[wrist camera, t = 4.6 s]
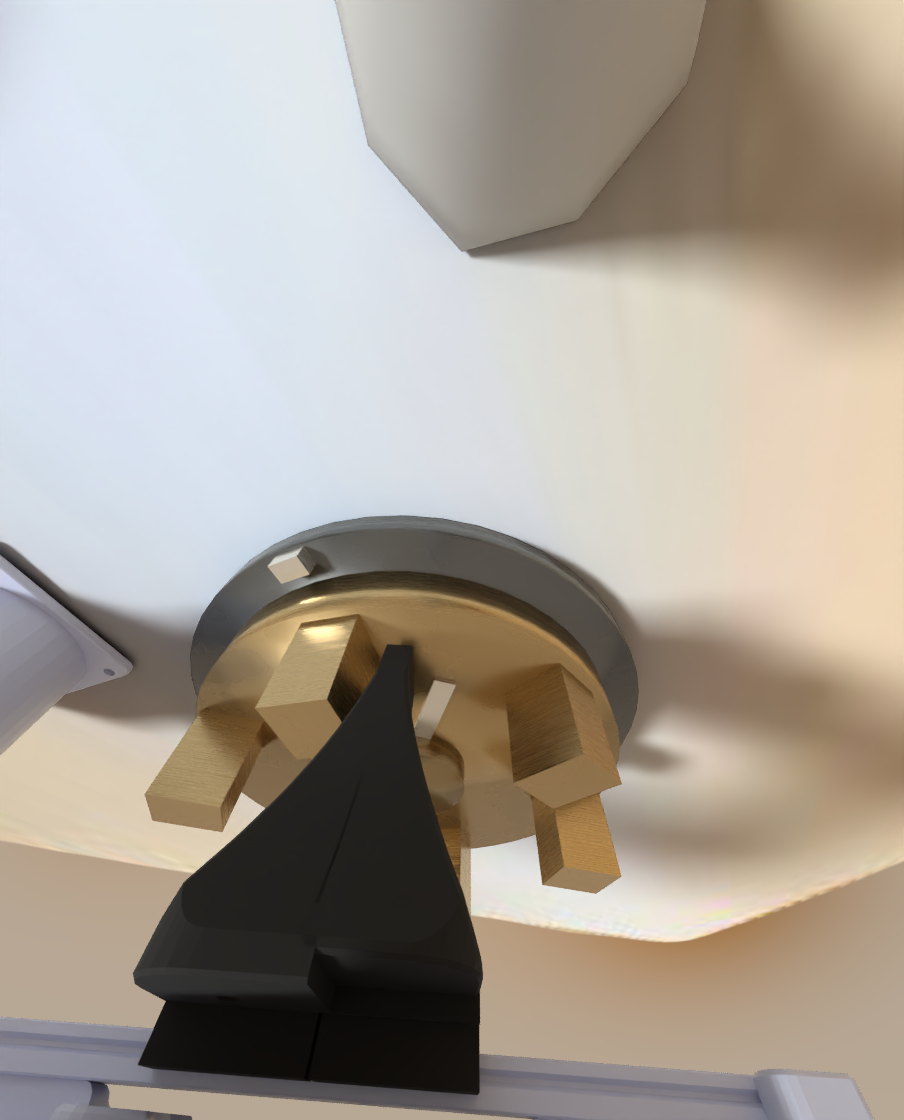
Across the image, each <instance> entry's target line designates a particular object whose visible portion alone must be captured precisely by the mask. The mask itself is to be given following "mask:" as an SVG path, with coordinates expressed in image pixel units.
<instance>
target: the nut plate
mask: <svg viewBox="0 0 904 1120" xmlns="http://www.w3.org/2000/svg"><path fill="white" fill-rule="evenodd" d="M373 571H411V572H421V573H431V574H440V575H445V576H450V577H455V578H460V579H464V580H469V581H473V582H476V583H479V584H482V585H485V586H488V587H491V588H494V589H498V590H501V591H503V592H505V593H507V594H510V595H512V596H514V597H516V598H518V599H520V600H523V601H525V602H527V603H529V604H531V605H532V606H534V607H535V608H537V609H539V610H540V611H542V612H543V613H545V614H547V615H548V616H550V617H551V618H553V619H554V620H555V621H556V622H558V623H559V624H560V625H561V626H562V627H564V628H565V629H566V630H567V631H568V632H570V633H571V634H572V635H573V637H574V638H575V639H576V640H577V641H578V642H579V643H580V645H581V646H582V647H583V648H584V649H585V650H586V652H587V653H588V655H589V657H590V658H591V660H592V662H593V663H594V665H595V667H596V668H597V671H598V674H599V676H600V679H601V682H602V685H603V687H604V690H605V693H606V696H607V699H608V701H609V704H610V707H611V710H612V712H613V715H614V718H615V721H616V724H617V726H618V733H619V741H620V745H621V744H622V742H623V741H624V739H625V737H626V735H627V733H628V731H629V730H630V728H631V725H632V722H633V719H634V716H635V713H636V709H637V700H638V682H637V672H636V668H635V665H634V662H633V659H632V656H631V653H630V650H629V648H628V646H627V643H626V641H625V639H624V637H623V635H622V633H621V631H620V629H619V627H618V625H617V624H616V622H615V620H614V618H613V616H612V615H611V613H610V611H609V609H608V608H607V607H606V605H605V604H604V603H603V602H602V601H601V599H600V598H599V597H598V596H597V594H596V593H595V592H594V591H593V590H592V588H590V587H589V586H588V585H587V584H586V583H585V582H584V581H583V580H581V579H580V578H579V577H578V576H577V575H576V574H575V573H573V572H572V571H571V570H570V569H569V568H567V567H566V566H564V565H562V564H561V563H559V562H558V561H556V560H555V559H553V558H552V557H550V556H549V555H547V554H546V553H544V552H542V551H540V550H538V549H536V548H534V547H532V546H530V545H527V544H525V543H523V542H521V541H519V540H517V539H515V538H513V537H510V536H507V535H504V534H501V533H498V532H495V531H492V530H489V529H486V528H483V527H480V526H476V525H471V524H466V523H461V522H456V521H451V520H446V519H440V518H428V517H415V516H380V517H364V518H358V519H352V520H345V521H339V522H333V523H330V524H326V525H323V526H319V527H316V528H313V529H309V530H306V531H303V532H300V533H298V534H296V535H293V536H291V537H289V538H287V539H285V540H283V541H280V542H278V543H276V544H274V545H272V546H271V547H269V548H268V549H266V550H265V551H263V552H262V553H260V554H259V555H257V556H256V557H254V558H253V559H251V560H250V561H249V562H248V563H247V564H246V565H245V566H244V567H242V568H241V569H240V570H239V571H238V572H237V573H236V574H235V575H234V576H233V577H232V578H231V579H230V580H229V581H228V583H227V584H226V585H225V586H224V587H223V588H222V589H221V590H220V591H219V593H218V594H217V595H216V596H215V597H214V599H213V600H212V602H211V603H210V604H209V606H208V607H207V609H206V610H205V612H204V613H203V615H202V616H201V619H200V621H199V624H198V626H197V628H196V631H195V633H194V636H193V642H192V648H191V654H190V659H191V676H192V680H193V684H194V687H195V691H196V695H197V697H198V695H199V691H200V688H201V686H202V684H203V682H204V680H205V678H206V677H207V675H208V673H209V671H210V670H211V668H212V667H213V666H214V664H215V663H216V662H217V660H218V659H219V657H220V656H221V655H222V653H223V652H224V651H225V649H226V648H227V646H228V645H229V644H230V642H231V641H232V640H233V638H234V637H235V635H236V634H237V633H238V632H239V630H240V629H241V628H242V627H243V626H244V625H245V623H246V622H247V621H248V620H249V619H250V618H251V617H252V616H253V615H255V614H256V613H257V612H258V611H260V610H261V609H262V608H263V607H265V606H266V605H267V604H269V603H270V602H272V601H274V600H276V599H277V598H279V597H281V596H283V595H285V594H286V593H288V592H290V591H293V590H295V589H298V588H301V587H303V586H306V585H308V584H311V583H314V582H317V581H321V580H325V579H329V578H334V577H338V576H342V575H349V574H357V573H365V572H373Z"/></svg>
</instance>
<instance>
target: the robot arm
mask: <svg viewBox="0 0 904 1120" xmlns="http://www.w3.org/2000/svg"><path fill="white" fill-rule="evenodd" d="M132 669H133V666H132V663H131V662H130V661H129V660H127V659H126V658H125V657H124V656H122V655H121V654H120V653H119V652H118V651H116V650H115V649H114V648H113V647H112V646H110V645H109V644H108V643H107V642H105V641H104V640H103V639H102V638H101V637H99V636H98V635H97V634H96V633H95V632H93V631H92V630H91V629H90V628H88V627H87V626H86V625H85V624H84V623H82V622H81V621H80V620H79V619H78V618H76V617H75V616H74V615H73V614H71V613H70V612H69V611H68V610H67V609H65V608H64V607H63V606H62V605H61V604H59V603H58V602H57V601H56V600H54V599H53V598H52V597H51V596H50V595H48V594H47V593H46V592H45V591H44V590H42V589H41V588H40V587H39V586H37V585H36V584H35V583H34V582H33V581H31V580H30V579H29V578H28V577H27V576H25V575H24V574H23V573H22V572H20V571H19V570H18V569H17V568H16V567H14V566H13V565H12V564H11V563H10V562H8V561H7V560H6V559H5V558H3V557H2V556H1V555H0V755H1V754H2V753H4V752H5V751H6V750H7V749H8V748H9V747H10V746H11V745H12V744H13V743H14V742H15V741H16V740H17V739H18V738H19V737H21V736H22V735H23V734H24V733H25V732H26V731H27V730H28V729H29V728H30V727H31V726H32V725H33V724H34V723H35V722H36V721H38V720H39V719H40V718H41V717H42V716H43V715H44V714H45V713H46V712H47V711H48V710H49V709H50V708H51V707H52V706H53V705H54V704H56V703H57V702H58V701H59V700H60V699H61V698H62V697H63V696H64V695H65V694H68V693H71V692H75V691H78V690H81V689H84V688H88V687H91V686H94V685H97V684H100V683H104V682H107V681H110V680H113V679H116V678H120V677H123V676H126V675H128V674H129V673H130V672H131V670H132ZM414 691H415V687H414V669H413V651H412V645H393V644H387V646H386V648H385V651H384V653H383V656H382V659H381V661H380V664H379V667H378V669H377V671H376V672H375V674H374V676H373V677H372V679H371V681H370V682H369V684H368V685H367V687H366V688H365V690H364V691H363V693H362V695H361V696H360V698H359V699H358V701H357V702H356V704H355V705H354V706H353V708H352V709H351V711H350V712H349V713H348V715H347V716H346V717H345V719H344V720H343V721H342V723H341V724H340V726H339V727H338V728H337V730H336V731H335V732H334V733H333V735H332V736H331V737H330V739H329V740H328V741H327V742H326V744H325V745H324V746H323V747H322V748H321V750H320V751H319V752H318V753H317V754H316V755H315V757H314V758H313V759H312V760H311V761H310V762H309V764H308V765H307V766H306V767H305V768H304V769H303V770H302V771H301V772H300V773H299V775H298V776H297V777H296V778H295V779H294V780H293V781H292V782H291V783H290V784H289V785H288V786H287V788H286V789H285V790H284V791H283V792H282V793H281V794H280V795H279V796H278V797H277V798H276V799H275V800H274V801H273V802H272V803H271V804H270V805H269V806H268V807H267V808H266V809H265V810H263V811H262V812H261V813H260V814H259V815H258V816H257V817H256V818H255V819H254V820H253V821H252V822H251V823H250V824H249V825H248V826H247V827H246V828H245V829H244V830H243V831H242V832H241V833H239V834H238V835H237V836H236V837H235V838H234V839H233V840H232V841H231V842H229V843H228V844H227V845H226V846H225V847H224V848H223V849H221V850H220V851H219V852H218V853H217V854H216V855H215V856H213V857H212V858H211V859H210V860H209V861H208V862H206V863H205V864H204V865H203V866H202V867H201V868H200V869H198V870H197V871H196V872H195V873H194V874H193V875H191V876H190V877H189V878H188V879H187V880H186V881H185V882H184V883H183V885H182V886H181V888H180V889H179V891H178V892H177V894H176V896H175V897H174V899H173V901H172V902H171V904H170V905H169V907H168V908H167V910H166V912H165V913H164V915H163V917H162V919H161V920H160V922H159V924H158V926H157V928H156V930H155V932H154V934H153V936H152V938H151V940H150V942H149V943H148V946H147V947H146V949H145V951H144V953H143V955H142V957H141V959H140V961H139V963H138V965H137V967H136V969H135V970H134V972H133V975H134V981H135V984H136V985H138V986H139V987H140V988H142V989H144V990H146V991H148V992H150V993H152V994H154V995H156V996H157V997H159V998H161V999H163V1000H165V1001H166V1002H165V1004H164V1006H163V1009H162V1011H161V1013H160V1015H159V1018H158V1020H157V1022H156V1025H155V1027H154V1029H152V1028H140V1027H127V1026H114V1025H101V1024H88V1023H75V1022H61V1021H49V1020H37V1019H24V1018H11V1017H0V1120H192V1117H191V1116H185V1115H176V1114H165V1113H157V1112H150V1111H139V1110H129V1109H118V1108H110V1106H109V1102H108V1100H109V1089H108V1086H107V1085H105V1084H113V1085H126V1086H138V1087H150V1088H162V1089H174V1090H186V1091H198V1092H211V1093H223V1094H236V1095H247V1096H259V1097H271V1098H285V1099H295V1100H296V1099H297V1100H307V1101H320V1102H332V1103H344V1104H356V1105H368V1106H380V1107H393V1108H405V1109H417V1110H430V1111H441V1112H453V1113H465V1114H477V1115H490V1116H502V1117H514V1118H527V1119H533V1120H875V1119H874V1117H873V1116H872V1113H871V1112H870V1109H869V1107H868V1106H867V1103H866V1102H865V1099H864V1097H863V1095H862V1093H861V1092H860V1089H859V1087H858V1085H857V1083H856V1081H855V1080H854V1079H853V1078H851V1077H850V1076H849V1075H848V1074H844V1073H831V1072H818V1071H805V1070H792V1069H767V1070H761V1071H757V1072H755V1074H754V1075H744V1074H731V1073H718V1072H706V1071H693V1070H680V1069H667V1068H654V1067H642V1066H629V1065H616V1064H603V1063H589V1062H576V1061H564V1060H551V1059H539V1058H526V1057H525V1058H524V1057H513V1056H500V1055H487V1054H479V1024H480V988H481V984H482V980H483V971H482V961H481V956H480V952H479V948H478V944H477V940H476V937H475V933H474V929H473V926H472V922H471V918H470V914H469V911H468V907H467V904H466V900H465V896H464V893H463V890H462V888H461V885H460V882H459V880H458V877H457V875H456V872H455V869H454V866H453V864H452V861H451V858H450V855H449V853H448V850H447V847H446V844H445V841H444V838H443V835H442V832H441V829H440V826H439V823H438V819H437V816H436V813H435V810H434V806H433V803H432V800H431V797H430V793H429V790H428V786H427V782H426V779H425V775H424V771H423V767H422V763H421V759H420V755H419V750H418V746H417V741H416V736H415V730H414V725H413V719H412V708H413V699H414Z"/></svg>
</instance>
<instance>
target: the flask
mask: <svg viewBox="0 0 904 1120" xmlns="http://www.w3.org/2000/svg"><path fill="white" fill-rule="evenodd" d="M706 1H707V0H335V3H336V7H337V11H338V16H339V20H340V24H341V29H342V33H343V38H344V42H345V46H346V51H347V55H348V59H349V64H350V68H351V73H352V77H353V81H354V86H355V90H356V94H357V99H358V103H359V108H360V112H361V116H362V121H363V125H364V129H365V134H366V138H367V143H368V146H369V147H370V148H371V149H372V150H373V152H374V153H375V154H376V155H377V156H378V157H379V158H380V160H381V161H382V162H383V163H384V164H385V165H386V166H387V168H388V169H389V170H390V171H391V172H392V173H393V174H394V175H395V177H396V178H397V179H398V180H399V181H400V182H401V183H402V185H403V186H404V187H405V188H406V189H407V190H408V191H409V193H410V194H411V195H412V196H413V197H414V198H415V199H416V200H417V202H418V203H419V204H420V205H421V206H422V207H423V208H424V210H425V211H426V212H427V213H428V214H429V215H430V216H431V218H432V219H433V220H434V221H435V222H436V223H437V224H438V225H439V227H440V228H441V229H442V230H443V231H444V232H445V233H446V235H447V236H448V237H449V238H450V239H451V240H452V241H453V243H454V244H455V245H456V246H457V247H458V248H459V249H460V250H461V252H462V251H466V250H470V249H473V248H477V247H481V246H484V245H488V244H492V243H495V242H499V241H503V240H506V239H510V238H514V237H517V236H521V235H525V234H529V233H532V232H536V231H540V230H543V229H547V228H551V227H554V226H558V225H562V224H565V223H569V222H573V221H577V220H578V219H579V218H580V217H581V215H582V214H583V213H584V212H585V210H586V209H587V208H588V207H589V205H590V204H591V203H592V202H593V200H594V199H595V198H596V197H597V195H598V194H599V193H600V192H601V190H602V189H603V188H604V187H605V185H606V184H607V183H608V182H609V180H610V179H611V178H612V177H613V175H614V174H615V173H616V172H617V170H618V169H619V168H620V167H621V165H622V164H623V163H624V162H625V160H626V159H627V158H628V157H629V156H630V154H631V153H632V152H633V151H634V149H635V148H636V147H637V146H638V144H639V143H640V142H641V141H642V139H643V138H644V137H645V136H646V134H647V133H648V132H649V131H650V129H651V128H652V127H653V126H654V124H655V123H656V122H657V121H658V119H659V118H660V117H661V116H662V114H663V113H664V112H665V111H666V109H667V108H668V107H669V106H670V104H671V103H672V102H673V101H674V99H675V98H676V97H677V96H678V94H679V93H680V92H681V91H682V89H683V88H684V87H685V86H686V84H687V82H688V78H689V74H690V71H691V67H692V63H693V59H694V55H695V52H696V47H697V43H698V38H699V33H700V29H701V24H702V20H703V15H704V10H705V6H706Z"/></svg>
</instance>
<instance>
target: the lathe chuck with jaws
mask: <svg viewBox="0 0 904 1120" xmlns="http://www.w3.org/2000/svg"><path fill="white" fill-rule="evenodd" d="M387 644H393V645H412V651H413V669H414V687H415V691H414V699H413V708H412V719H413V725H414V730H415V736H416V741H417V746H418V750H419V755H420V759H421V763H422V767H423V771H424V775H425V779H426V782H427V786H428V790H429V793H430V797H431V800H432V803H433V806H434V810H435V813H436V816H437V819H438V823H439V826H440V829H441V832H442V835H443V838H444V841H445V844H446V847H447V850H448V853H449V855H450V858H451V861H452V864H453V866H454V869H455V872H456V875H457V877H458V880H459V882H460V885H461V888H462V890H463V893H464V896H465V900H466V904H467V907H468V911H469V914H470V918H471V848H479V847H486V846H493V845H498V844H503V843H507V842H512V841H516V840H519V839H522V838H526V837H529V836H532V835H535V834H536V838H537V846H538V854H539V862H540V870H541V877H542V885H547V886H553V887H559V888H565V889H571V890H577V891H583V892H589V893H595V894H596V893H598V892H599V891H601V890H602V889H604V888H605V887H607V886H608V885H610V884H611V883H613V882H614V881H615V880H617V879H618V878H620V877H621V873H620V869H619V866H618V862H617V858H616V855H615V851H614V847H613V844H612V840H611V836H610V832H609V829H608V825H607V821H606V818H605V814H604V810H603V807H602V803H601V799H600V796H599V794H600V793H601V792H602V791H604V790H607V789H609V788H612V787H615V786H618V785H620V784H622V783H621V780H620V777H619V774H618V770H617V767H616V764H617V761H618V756H619V747H620V741H619V733H618V726H617V724H616V721H615V718H614V715H613V712H612V710H611V707H610V704H609V701H608V699H607V696H606V693H605V690H604V687H603V685H602V682H601V679H600V676H599V674H598V671H597V668H596V667H595V665H594V663H593V662H592V660H591V658H590V657H589V655H588V653H587V652H586V650H585V649H584V648H583V647H582V646H581V645H580V643H579V642H578V641H577V640H576V639H575V638H574V637H573V635H572V634H571V633H570V632H568V631H567V630H566V629H565V628H564V627H562V626H561V625H560V624H559V623H558V622H556V621H555V620H554V619H553V618H551V617H550V616H548V615H547V614H545V613H543V612H542V611H540V610H539V609H537V608H535V607H534V606H532V605H531V604H529V603H527V602H525V601H523V600H520V599H518V598H516V597H514V596H512V595H510V594H507V593H505V592H503V591H501V590H498V589H494V588H491V587H488V586H485V585H482V584H479V583H476V582H473V581H469V580H464V579H460V578H455V577H450V576H445V575H440V574H431V573H421V572H411V571H373V572H365V573H357V574H349V575H342V576H338V577H334V578H329V579H325V580H321V581H317V582H314V583H311V584H308V585H306V586H303V587H301V588H298V589H295V590H293V591H290V592H288V593H286V594H285V595H283V596H281V597H279V598H277V599H276V600H274V601H272V602H270V603H269V604H267V605H266V606H265V607H263V608H262V609H261V610H260V611H258V612H257V613H256V614H255V615H253V616H252V617H251V618H250V619H249V620H248V621H247V622H246V623H245V625H244V626H243V627H242V628H241V629H240V630H239V632H238V633H237V634H236V635H235V637H234V638H233V640H232V641H231V642H230V644H229V645H228V646H227V648H226V649H225V651H224V652H223V653H222V655H221V656H220V657H219V659H218V660H217V662H216V663H215V664H214V666H213V667H212V668H211V670H210V671H209V673H208V675H207V677H206V678H205V680H204V682H203V684H202V686H201V688H200V691H199V695H198V699H197V703H196V719H195V720H194V722H193V723H192V725H191V726H190V728H189V729H188V731H187V732H186V734H185V735H184V737H183V738H182V740H181V741H180V743H179V744H178V746H177V747H176V749H175V750H174V752H173V753H172V755H171V756H170V758H169V759H168V760H167V762H166V763H165V765H164V766H163V768H162V769H161V771H160V772H159V774H158V775H157V777H156V778H155V780H154V781H153V783H152V784H151V786H150V787H149V789H148V790H147V792H146V793H145V797H146V800H147V803H148V807H149V810H150V813H151V817H152V820H153V821H158V822H164V823H170V824H176V825H183V826H189V827H195V828H201V829H207V830H213V831H219V832H222V831H223V829H224V827H225V825H226V823H227V821H228V819H229V817H230V815H231V813H232V810H233V808H234V806H235V804H236V802H237V800H238V798H239V796H240V794H241V792H242V793H244V794H245V795H247V796H248V797H249V798H251V799H252V800H254V801H255V802H257V803H258V804H260V805H261V806H263V807H265V808H267V807H268V806H269V805H270V804H271V803H272V802H273V801H274V800H275V799H276V798H277V797H278V796H279V795H280V794H281V793H282V792H283V791H284V790H285V789H286V788H287V786H288V785H289V784H290V783H291V782H292V781H293V780H294V779H295V778H296V777H297V776H298V775H299V773H300V772H301V771H302V770H303V769H304V768H305V767H306V766H307V765H308V764H309V762H310V761H311V760H312V759H313V758H314V757H315V755H316V754H317V753H318V752H319V751H320V750H321V748H322V747H323V746H324V745H325V744H326V742H327V741H328V740H329V739H330V737H331V736H332V735H333V733H334V732H335V731H336V730H337V728H338V727H339V726H340V724H341V723H342V721H343V720H344V719H345V717H346V716H347V715H348V713H349V712H350V711H351V709H352V708H353V706H354V705H355V704H356V702H357V701H358V699H359V698H360V696H361V695H362V693H363V691H364V690H365V688H366V687H367V685H368V684H369V682H370V681H371V679H372V677H373V676H374V674H375V672H376V671H377V669H378V667H379V664H380V661H381V659H382V656H383V653H384V651H385V648H386V646H387Z"/></svg>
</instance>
